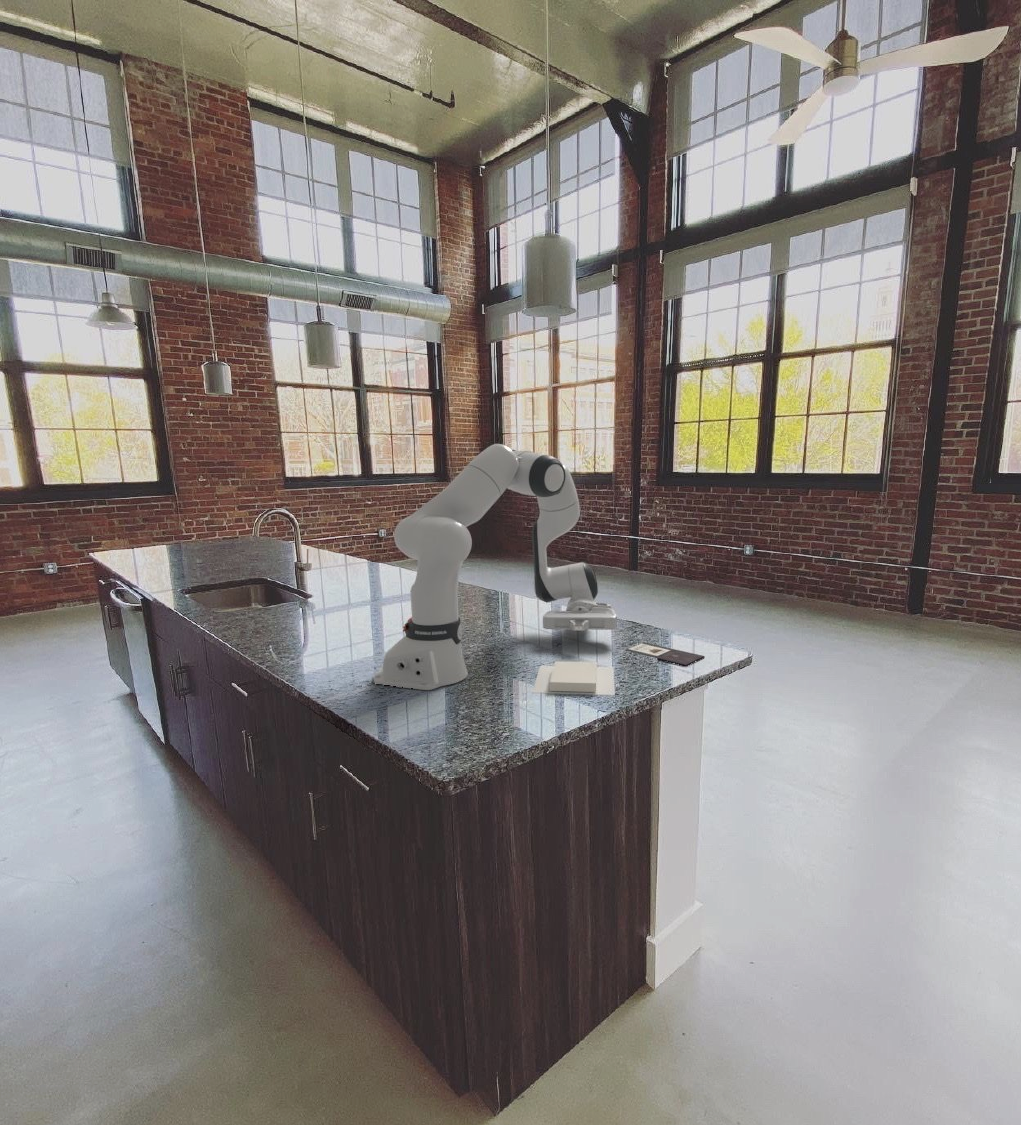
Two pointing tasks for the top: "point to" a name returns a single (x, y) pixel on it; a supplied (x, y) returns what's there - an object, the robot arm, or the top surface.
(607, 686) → the mat
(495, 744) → the top surface
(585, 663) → the tile
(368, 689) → the top surface
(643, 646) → the chocolate bar
